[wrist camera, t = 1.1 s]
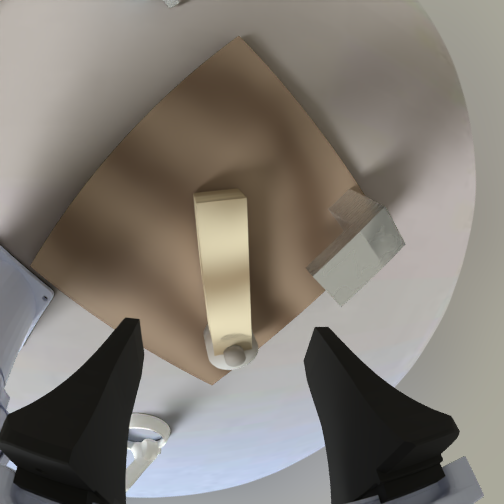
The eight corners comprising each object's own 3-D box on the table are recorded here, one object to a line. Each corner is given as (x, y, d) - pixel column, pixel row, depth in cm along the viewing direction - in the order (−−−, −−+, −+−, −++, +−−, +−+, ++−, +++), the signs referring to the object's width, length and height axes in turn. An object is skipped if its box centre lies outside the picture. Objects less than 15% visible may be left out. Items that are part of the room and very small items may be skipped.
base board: (210, 378, 29) (212, 385, 28) (34, 260, 19) (29, 266, 18) (380, 227, 26) (386, 231, 25) (235, 39, 17) (239, 35, 16)
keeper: (315, 276, 25) (341, 306, 21) (287, 247, 23) (312, 276, 19) (371, 222, 24) (405, 244, 20) (349, 188, 23) (385, 206, 19)
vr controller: (80, 426, 21) (140, 473, 20) (137, 388, 33) (184, 421, 32) (67, 465, 21) (119, 505, 20) (119, 425, 33) (161, 455, 32)
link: (250, 345, 26) (261, 371, 23) (206, 353, 25) (212, 380, 23) (245, 187, 20) (258, 200, 17) (185, 193, 19) (188, 208, 16)
